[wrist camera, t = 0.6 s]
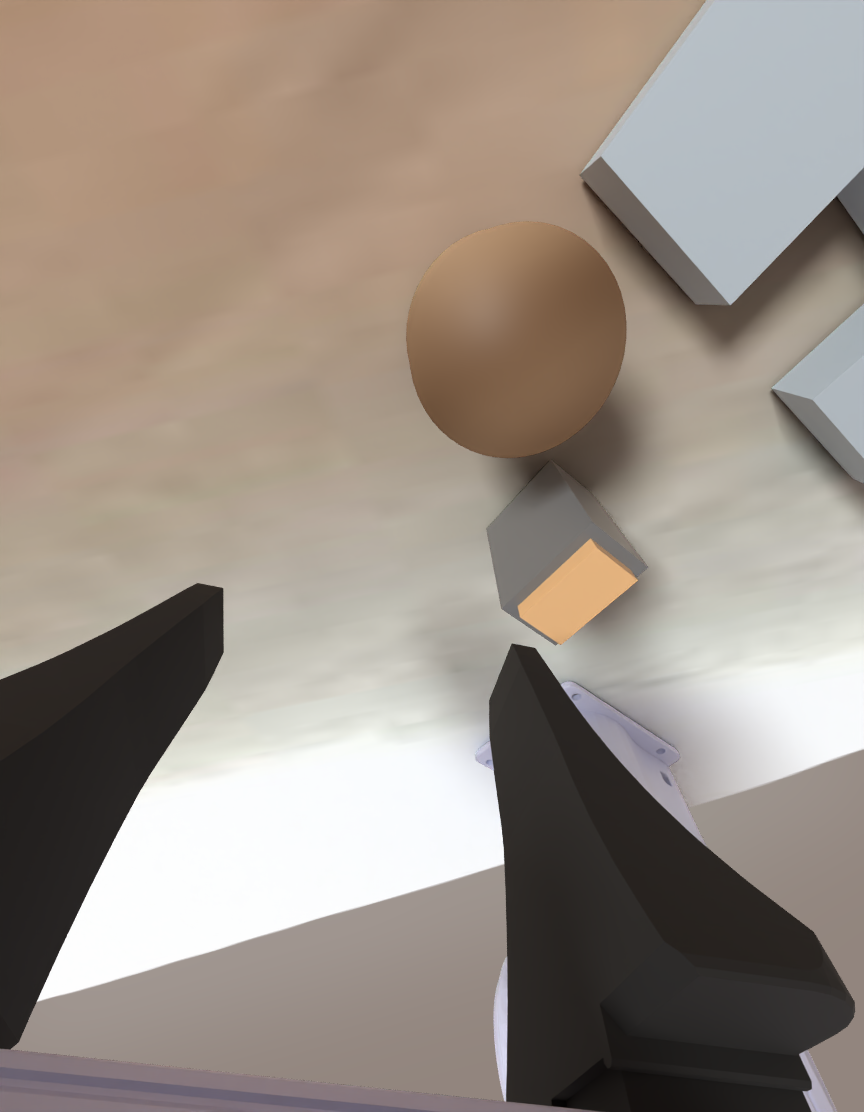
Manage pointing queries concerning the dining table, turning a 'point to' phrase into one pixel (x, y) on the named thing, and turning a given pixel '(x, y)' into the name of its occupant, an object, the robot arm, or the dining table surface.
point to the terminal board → (752, 172)
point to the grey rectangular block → (559, 556)
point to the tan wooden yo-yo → (516, 338)
